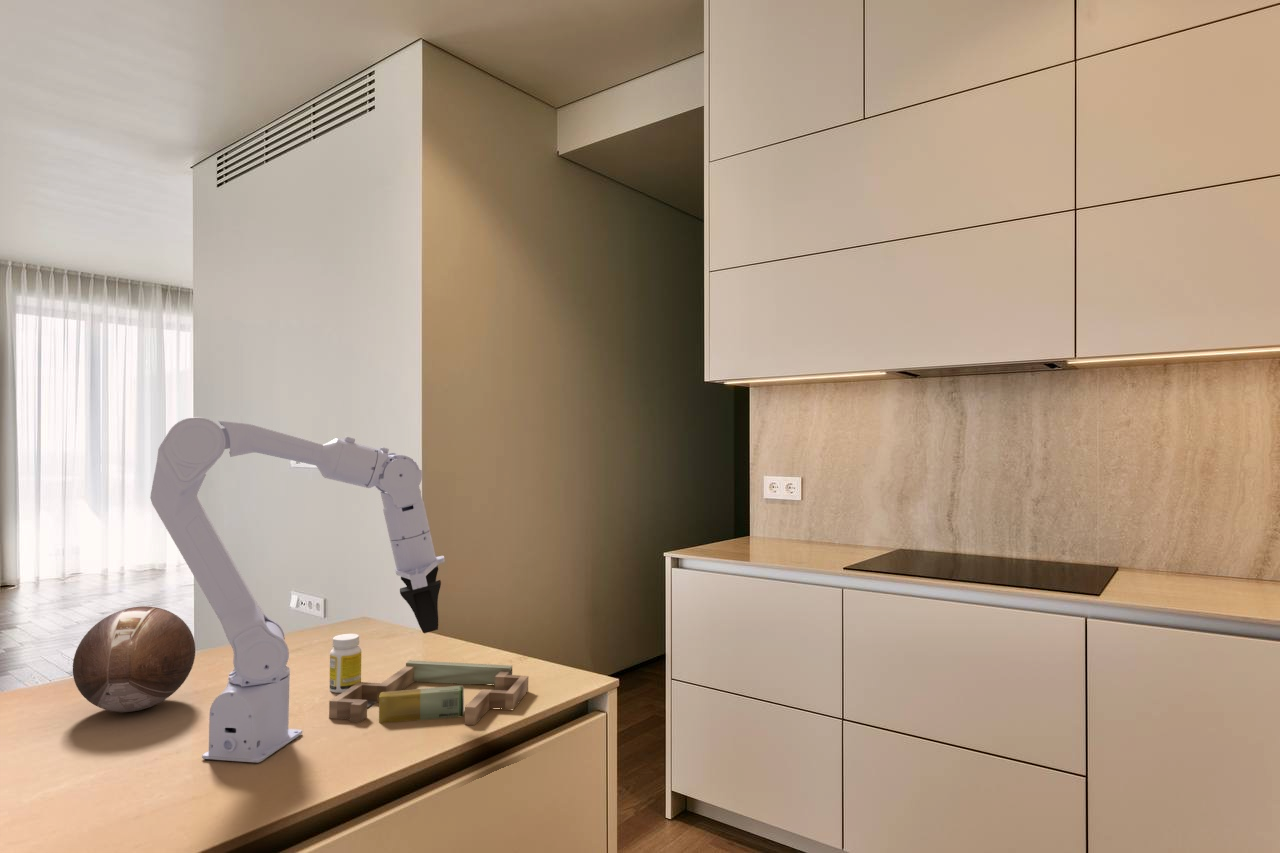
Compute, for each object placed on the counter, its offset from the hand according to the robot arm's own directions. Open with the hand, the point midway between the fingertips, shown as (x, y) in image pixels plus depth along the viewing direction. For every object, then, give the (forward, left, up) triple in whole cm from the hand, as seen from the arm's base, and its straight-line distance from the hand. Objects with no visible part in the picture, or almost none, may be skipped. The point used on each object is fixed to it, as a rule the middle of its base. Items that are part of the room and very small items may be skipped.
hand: (429, 623), depth 107 cm
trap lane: (+5, +1, -13) cm, 14 cm away
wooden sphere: (-4, +44, -14) cm, 46 cm away
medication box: (-1, +1, -14) cm, 14 cm away
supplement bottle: (+9, +18, -14) cm, 24 cm away
